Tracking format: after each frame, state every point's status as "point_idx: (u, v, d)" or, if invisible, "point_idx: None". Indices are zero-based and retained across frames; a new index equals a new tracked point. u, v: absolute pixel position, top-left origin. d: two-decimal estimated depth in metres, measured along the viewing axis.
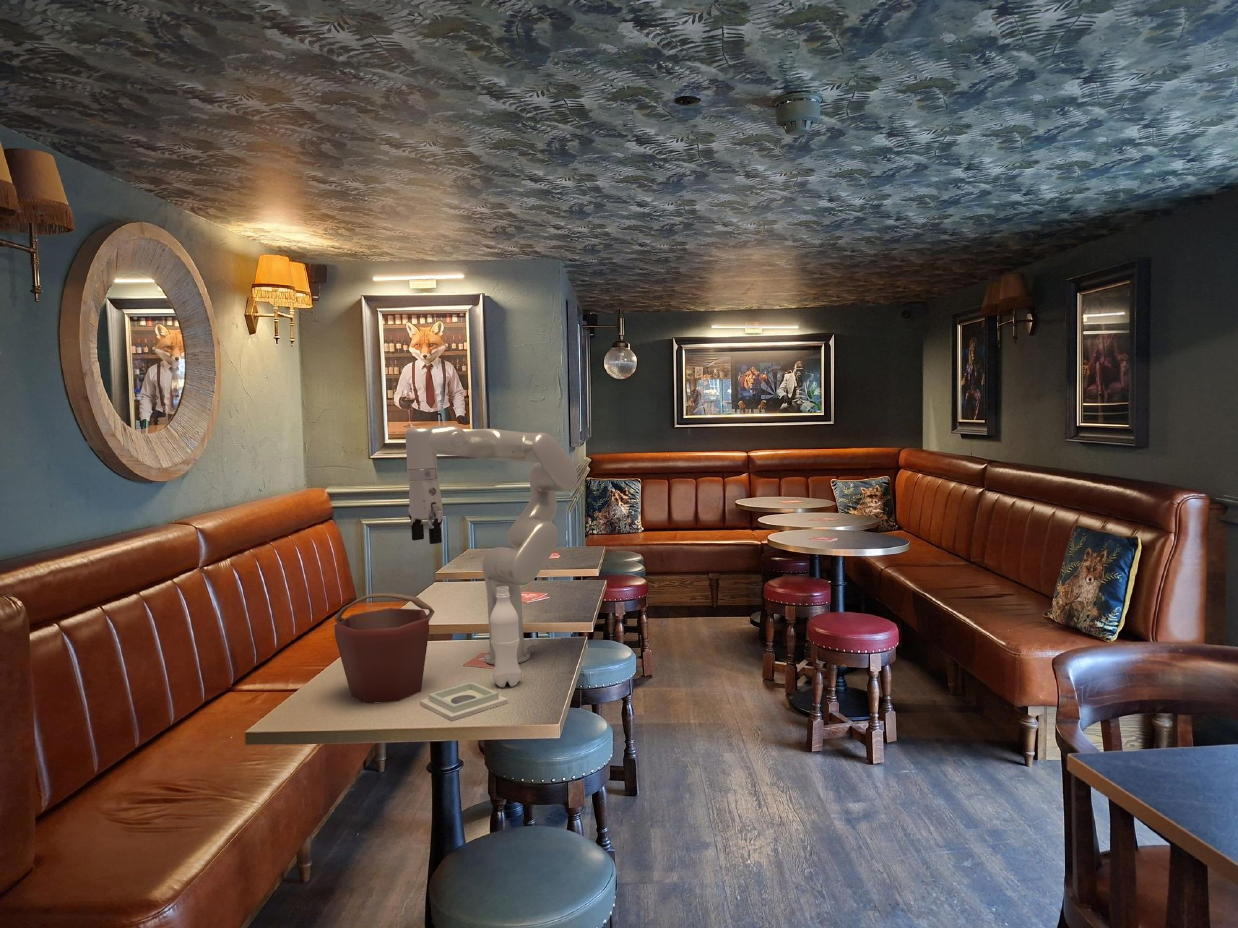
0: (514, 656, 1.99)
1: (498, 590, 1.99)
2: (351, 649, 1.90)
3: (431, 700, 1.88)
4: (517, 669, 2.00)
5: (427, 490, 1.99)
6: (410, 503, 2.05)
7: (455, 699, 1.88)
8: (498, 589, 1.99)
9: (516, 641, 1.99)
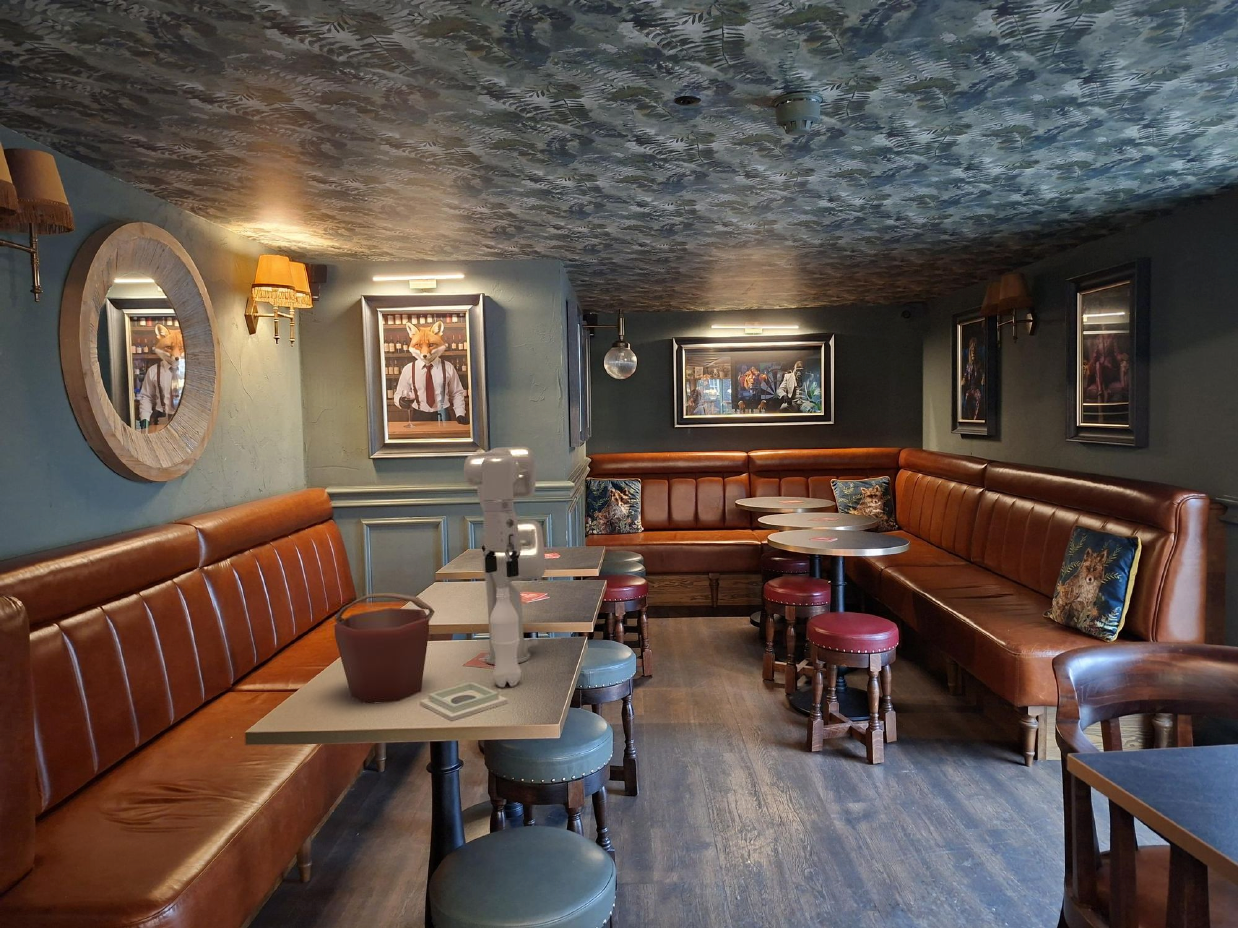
0: (514, 656, 1.99)
1: (498, 590, 1.99)
2: (351, 649, 1.90)
3: (431, 700, 1.88)
4: (517, 669, 2.00)
5: (505, 522, 1.94)
6: (484, 534, 2.00)
7: (455, 699, 1.88)
8: (498, 589, 1.99)
9: (516, 641, 1.99)
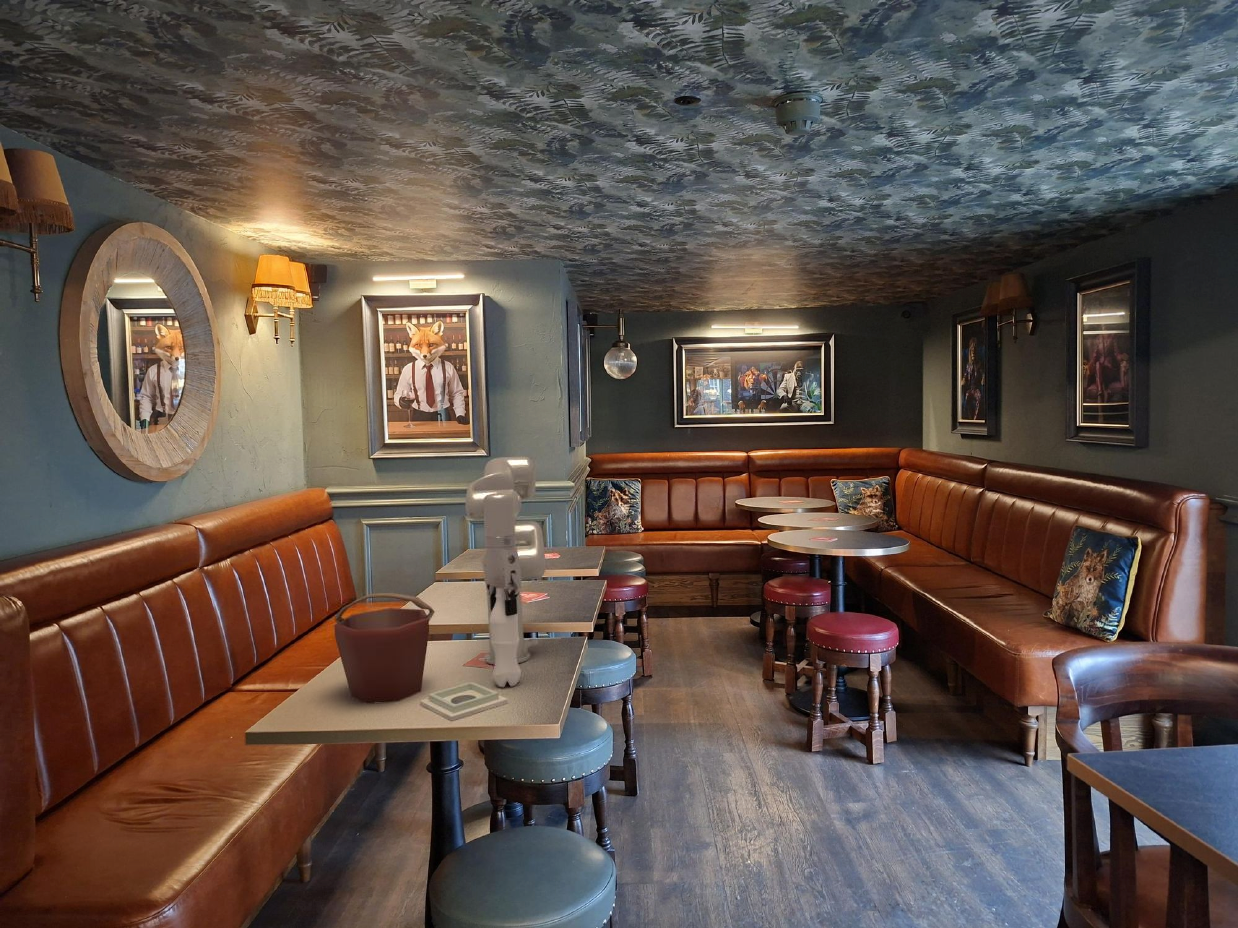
0: (514, 656, 1.99)
1: (497, 590, 1.99)
2: (351, 649, 1.90)
3: (431, 700, 1.88)
4: (517, 669, 2.00)
5: (507, 558, 1.95)
6: (486, 569, 2.01)
7: (455, 699, 1.88)
8: (497, 589, 1.99)
9: (516, 641, 1.99)
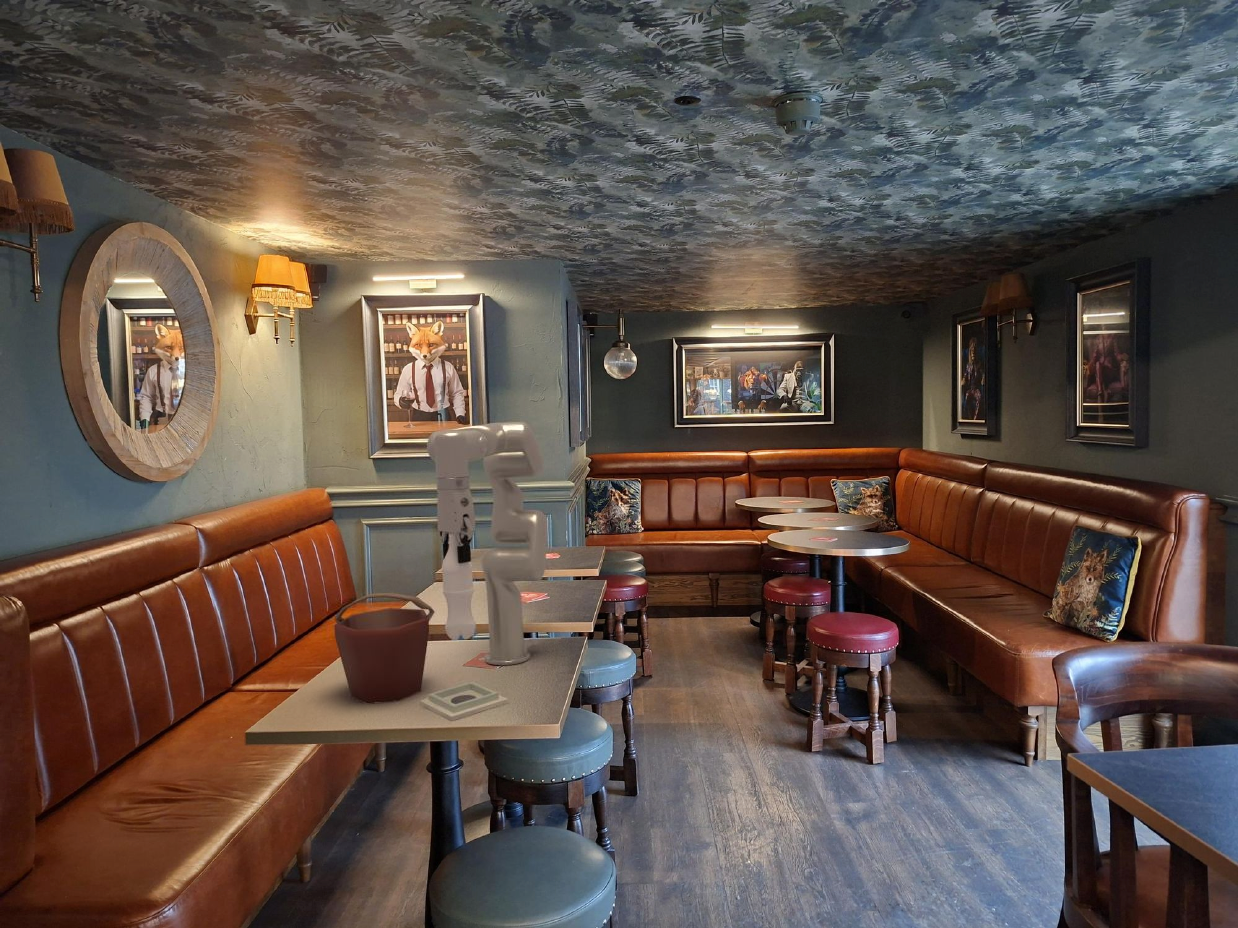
0: (468, 606, 1.85)
1: (450, 536, 1.85)
2: (351, 649, 1.90)
3: (431, 700, 1.88)
4: (471, 621, 1.86)
5: (459, 501, 1.81)
6: (438, 514, 1.87)
7: (455, 699, 1.88)
8: (450, 535, 1.85)
9: (470, 590, 1.85)
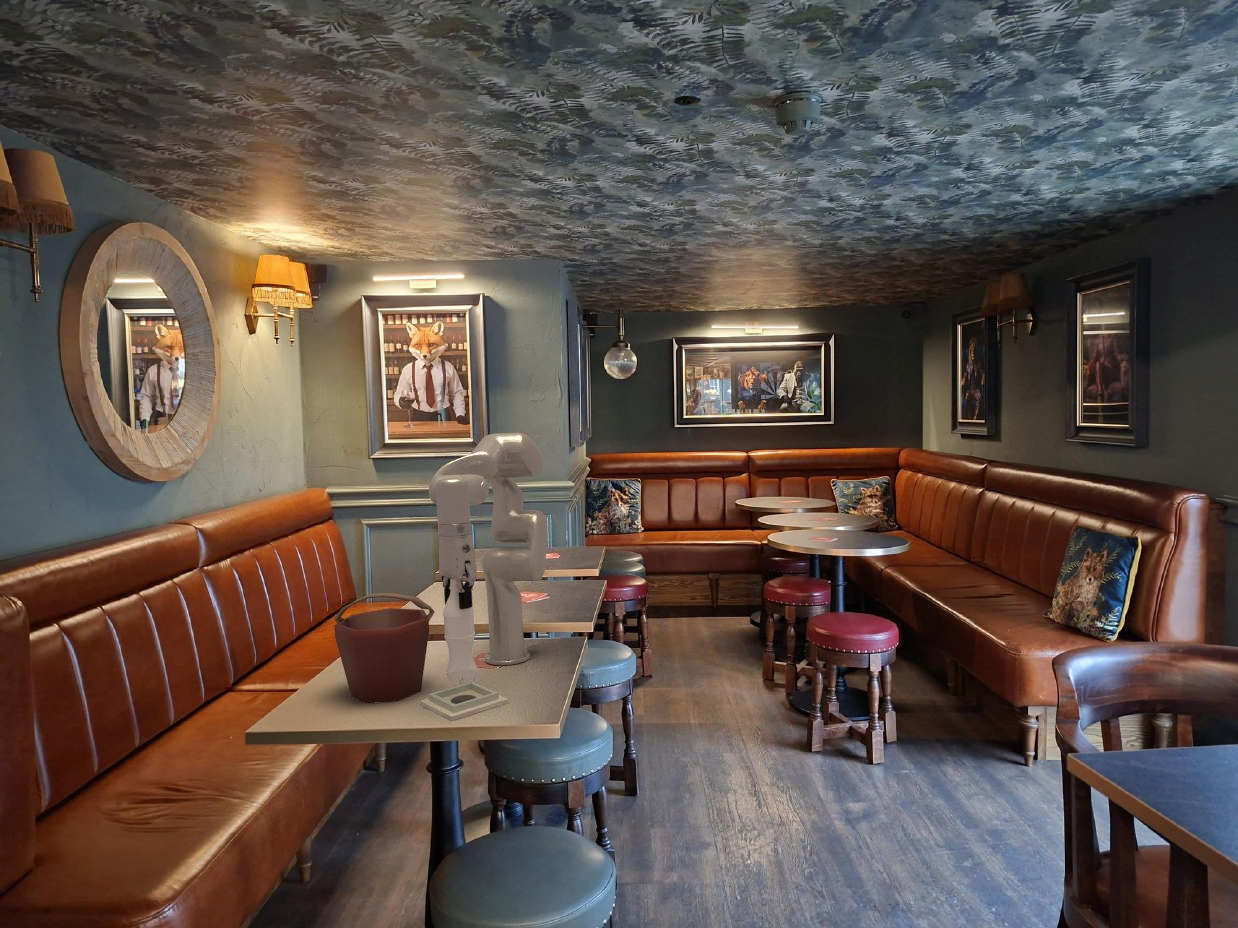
0: (469, 652, 1.86)
1: (451, 581, 1.86)
2: (351, 649, 1.90)
3: (431, 700, 1.88)
4: (472, 666, 1.86)
5: (460, 547, 1.82)
6: (440, 559, 1.88)
7: (455, 699, 1.88)
8: (451, 580, 1.86)
9: (471, 636, 1.86)
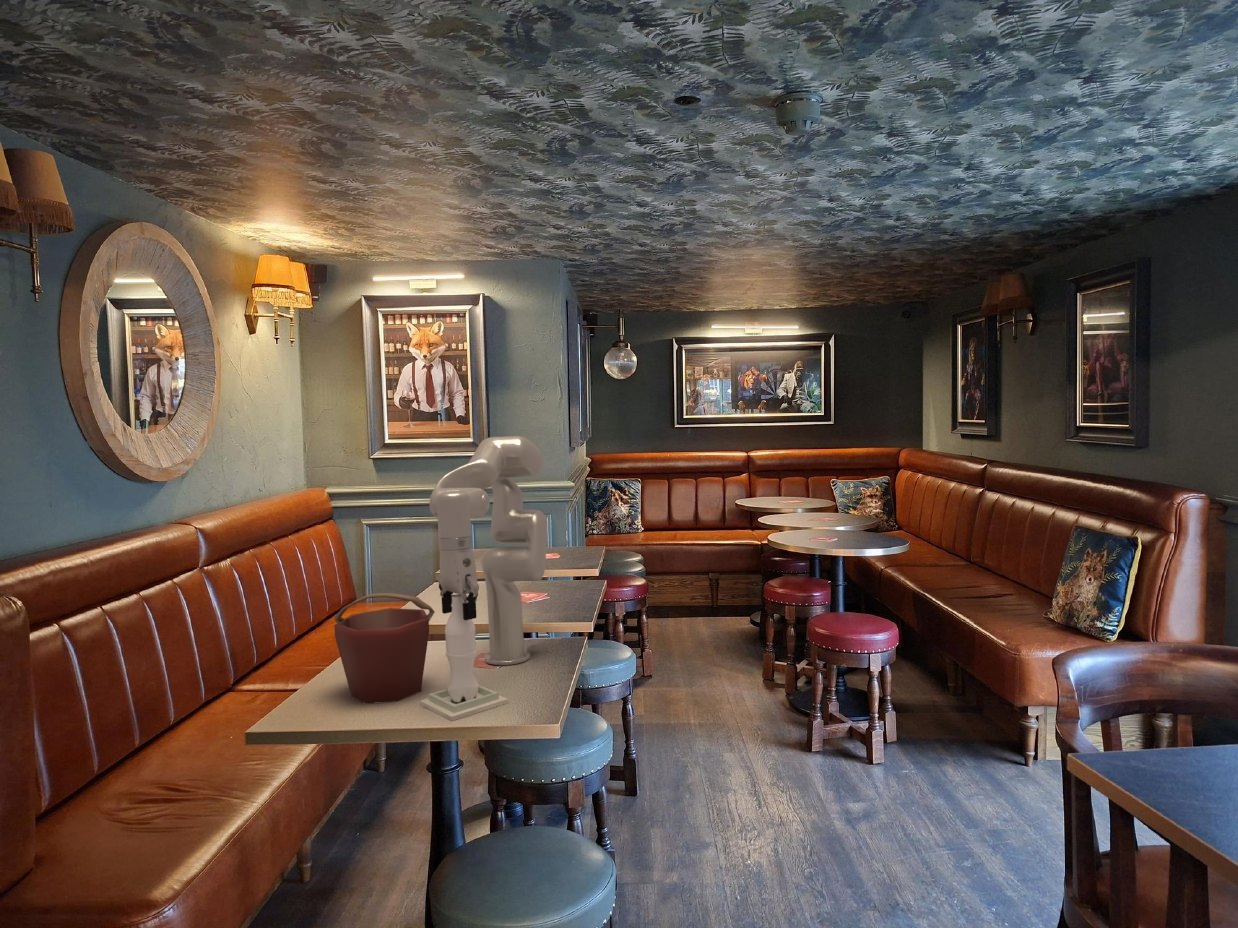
0: (470, 669, 1.86)
1: (453, 599, 1.86)
2: (351, 649, 1.90)
3: (431, 700, 1.88)
4: (474, 683, 1.87)
5: (461, 561, 1.82)
6: (440, 573, 1.88)
7: None
8: (453, 598, 1.86)
9: (472, 653, 1.86)
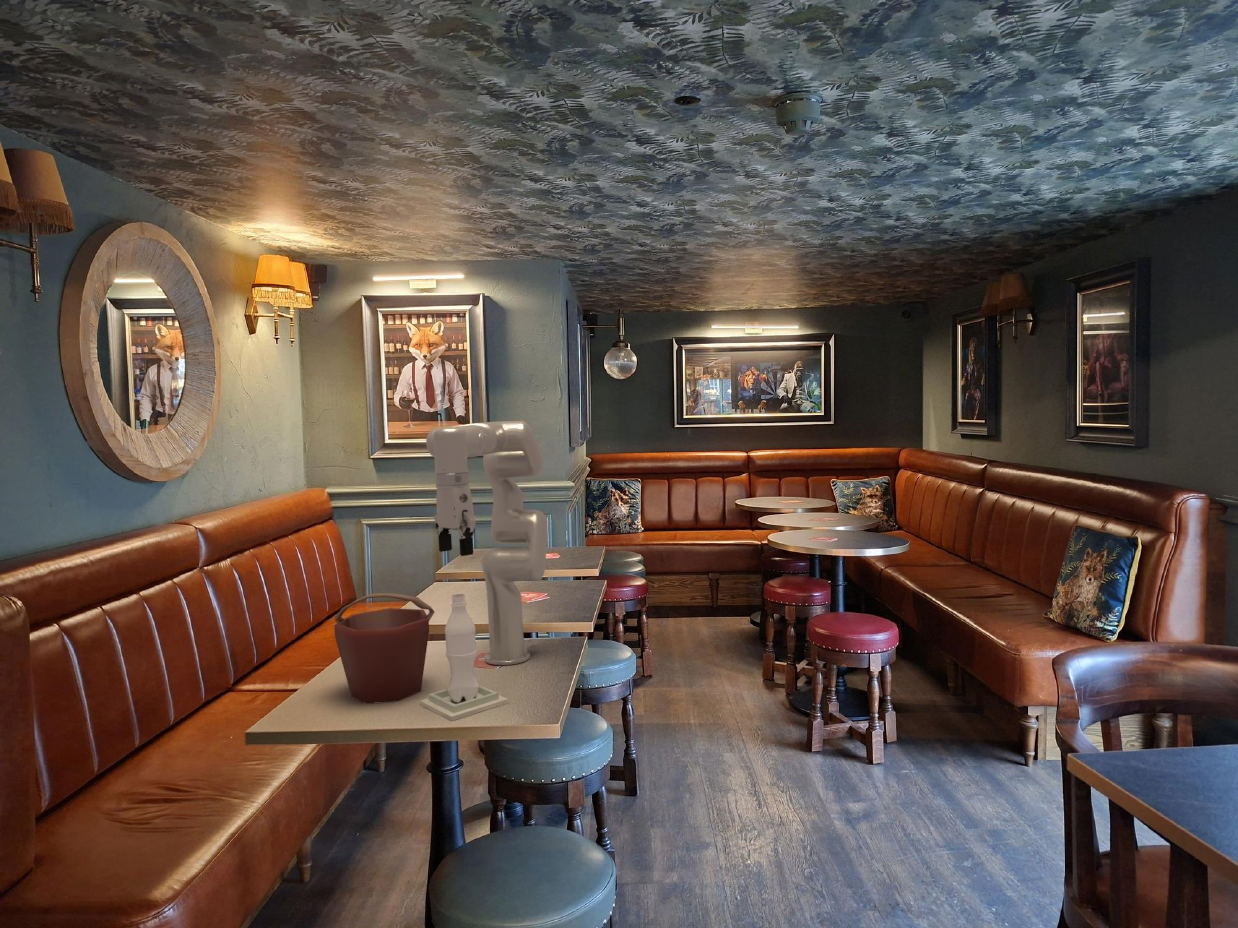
0: (470, 669, 1.86)
1: (453, 599, 1.86)
2: (351, 649, 1.90)
3: (431, 700, 1.88)
4: (474, 683, 1.87)
5: (458, 497, 1.81)
6: (437, 510, 1.87)
7: None
8: (453, 597, 1.86)
9: (472, 653, 1.86)
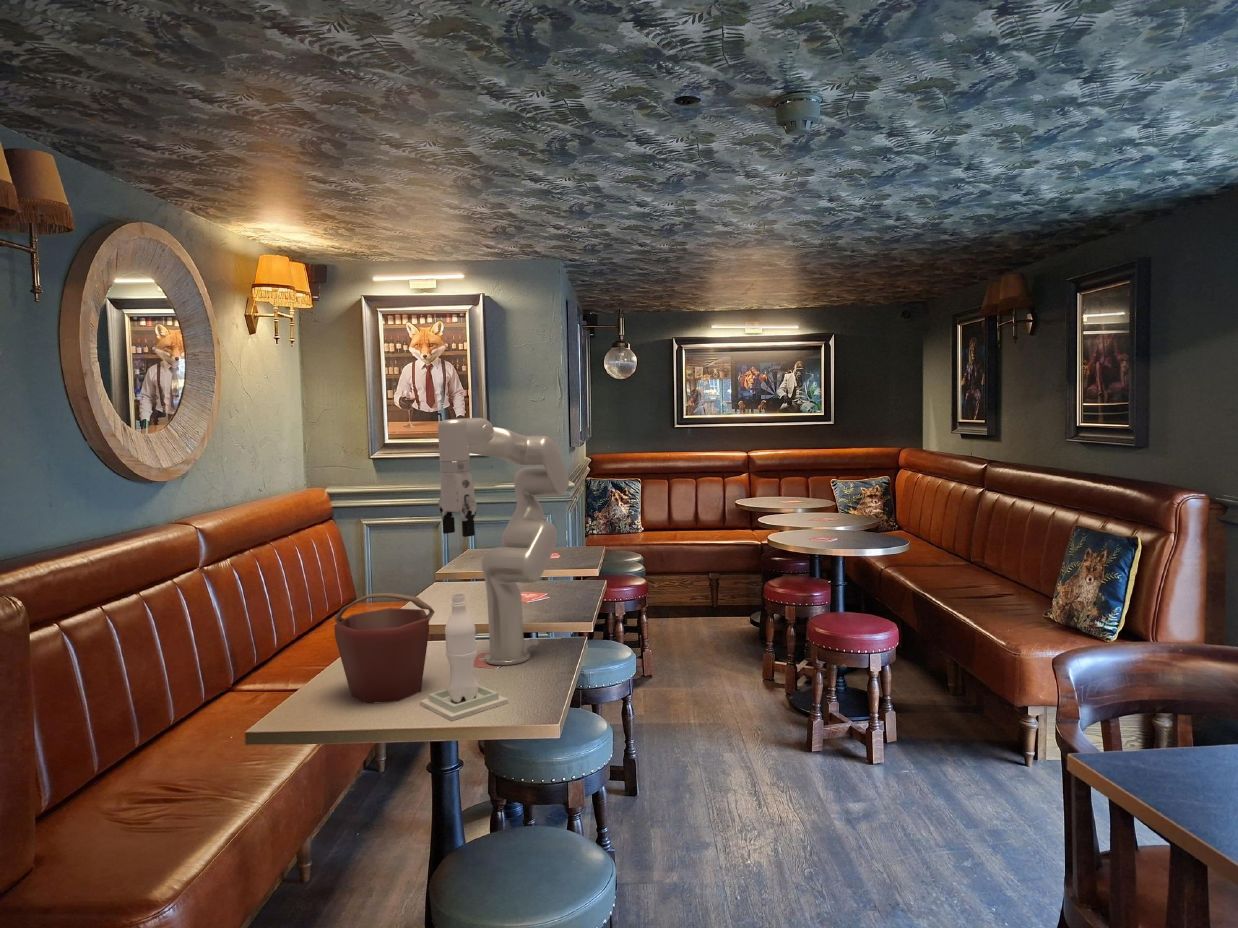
0: (470, 669, 1.86)
1: (453, 599, 1.86)
2: (351, 649, 1.90)
3: (431, 700, 1.88)
4: (474, 683, 1.87)
5: (460, 482, 1.97)
6: (441, 495, 2.03)
7: None
8: (453, 597, 1.86)
9: (472, 653, 1.86)
